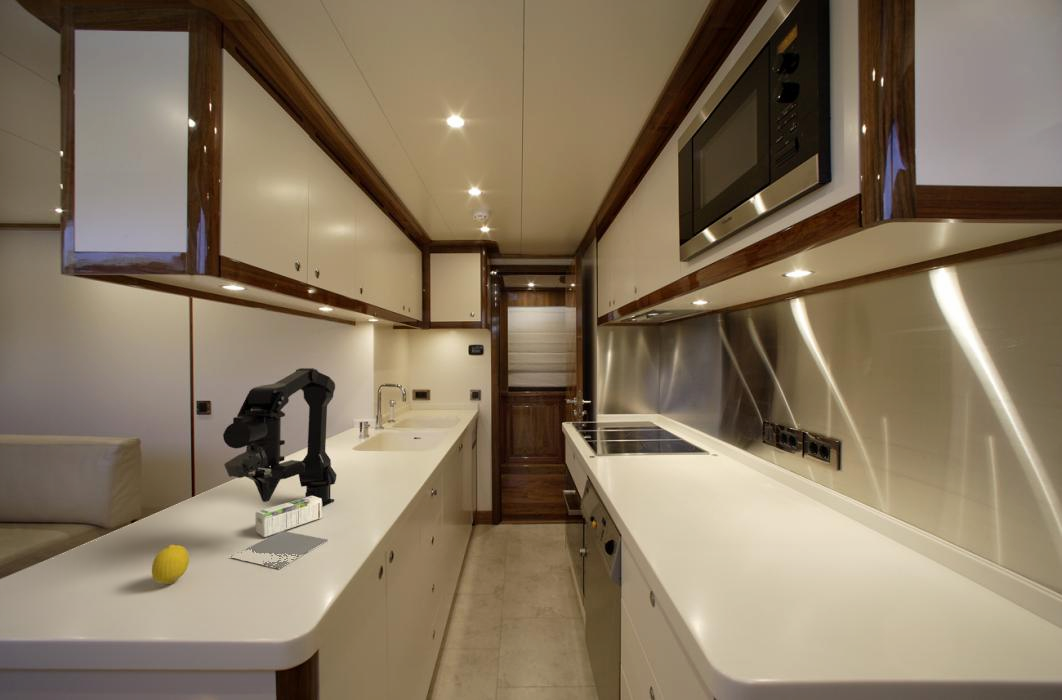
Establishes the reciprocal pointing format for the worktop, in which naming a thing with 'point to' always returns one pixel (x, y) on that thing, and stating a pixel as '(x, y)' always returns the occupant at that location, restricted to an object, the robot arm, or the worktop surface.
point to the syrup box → (288, 515)
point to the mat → (286, 546)
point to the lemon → (170, 564)
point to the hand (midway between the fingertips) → (265, 501)
